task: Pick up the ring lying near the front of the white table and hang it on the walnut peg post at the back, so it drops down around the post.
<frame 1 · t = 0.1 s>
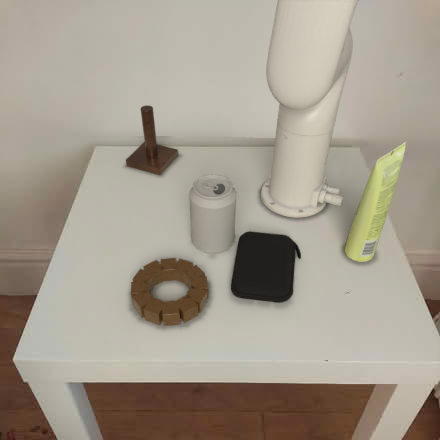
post: (152, 160, 96), on the table
can: (213, 243, 79), on the table
tube: (359, 253, 78), on the table
carrying case: (266, 273, 75), on the table
ring: (170, 295, 71), on the table
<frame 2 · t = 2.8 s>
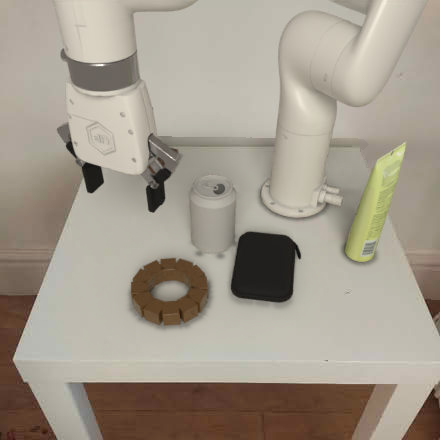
hand: (125, 197, 62), 15 cm above the table, tool pointing down, fingers open, 9 cm apart
nothing on the table moved.
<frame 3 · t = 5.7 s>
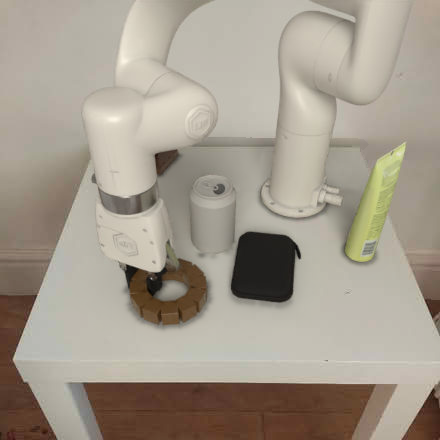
hand: (145, 286, 72), 0 cm above the table, tool pointing down, fingers closed on ring, 3 cm apart
ring: (169, 295, 71), on the table, touching gripper
everything else where it was.
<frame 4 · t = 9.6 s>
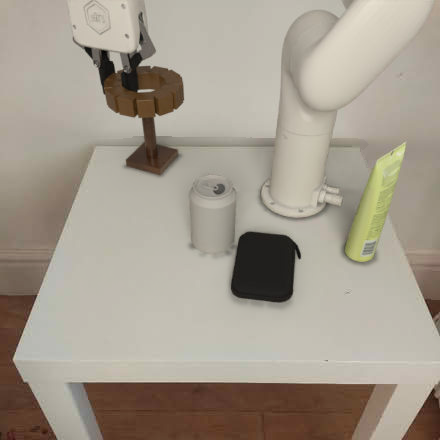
hand: (120, 92, 70), 21 cm above the table, tool pointing down, fingers closed on ring, 3 cm apart
ring: (145, 99, 69), point 21 cm above the table, touching gripper
everything else where it was.
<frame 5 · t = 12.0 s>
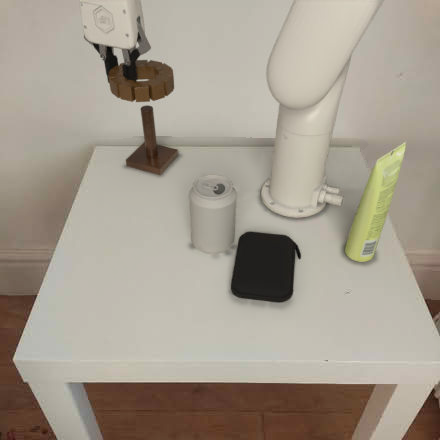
hand: (122, 81, 85), 16 cm above the table, tool pointing down, fingers closed on ring, 3 cm apart
ring: (142, 87, 84), point 15 cm above the table, touching gripper
everything else where it was.
when the fingers open (10 cm above the table, at t = 13.9 s): ring drops 8 cm, resting on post.
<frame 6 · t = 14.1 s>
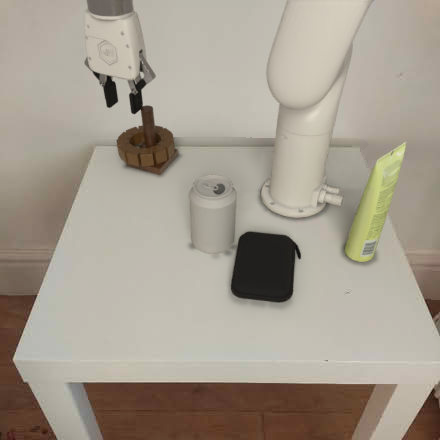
hand: (124, 106, 89), 11 cm above the table, tool pointing down, fingers open, 4 cm apart
ring: (147, 150, 95), point 2 cm above the table, touching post
everything else where it was.
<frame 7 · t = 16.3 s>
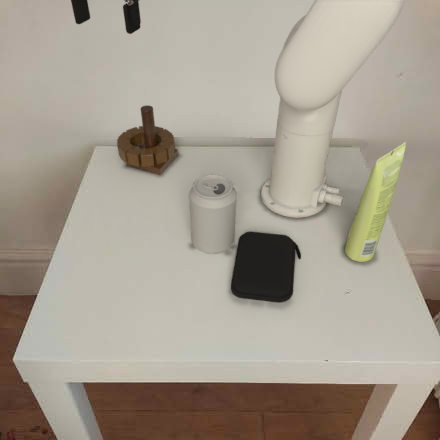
hand: (108, 26, 73), 27 cm above the table, tool pointing down, fingers open, 9 cm apart
nothing on the table moved.
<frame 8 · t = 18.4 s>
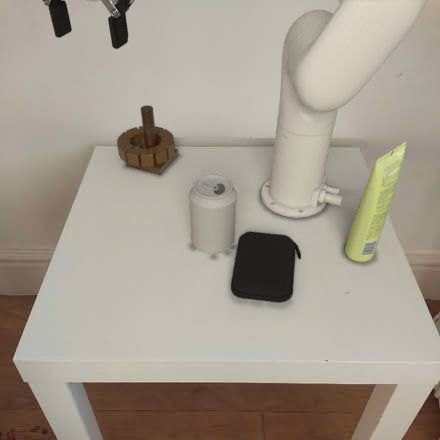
hand: (91, 39, 66), 28 cm above the table, tool pointing down, fingers open, 9 cm apart
nothing on the table moved.
at the end: ring 1.7 cm from the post (horizontally); ring point 1.5 cm above the table; the gripper is holding nothing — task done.
